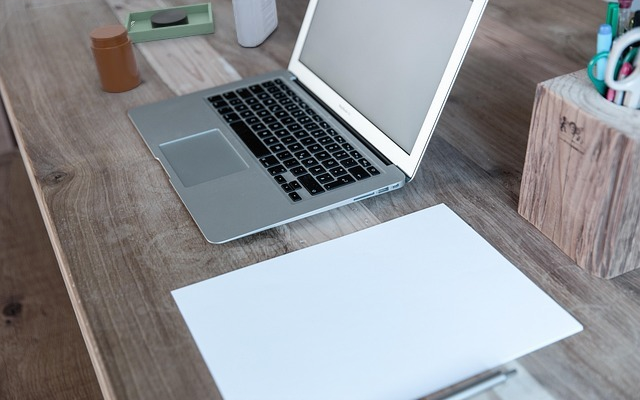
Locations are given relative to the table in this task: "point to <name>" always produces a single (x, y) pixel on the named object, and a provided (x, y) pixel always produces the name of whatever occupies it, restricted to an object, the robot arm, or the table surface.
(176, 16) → the lid
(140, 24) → the tray
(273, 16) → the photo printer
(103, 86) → the jar
